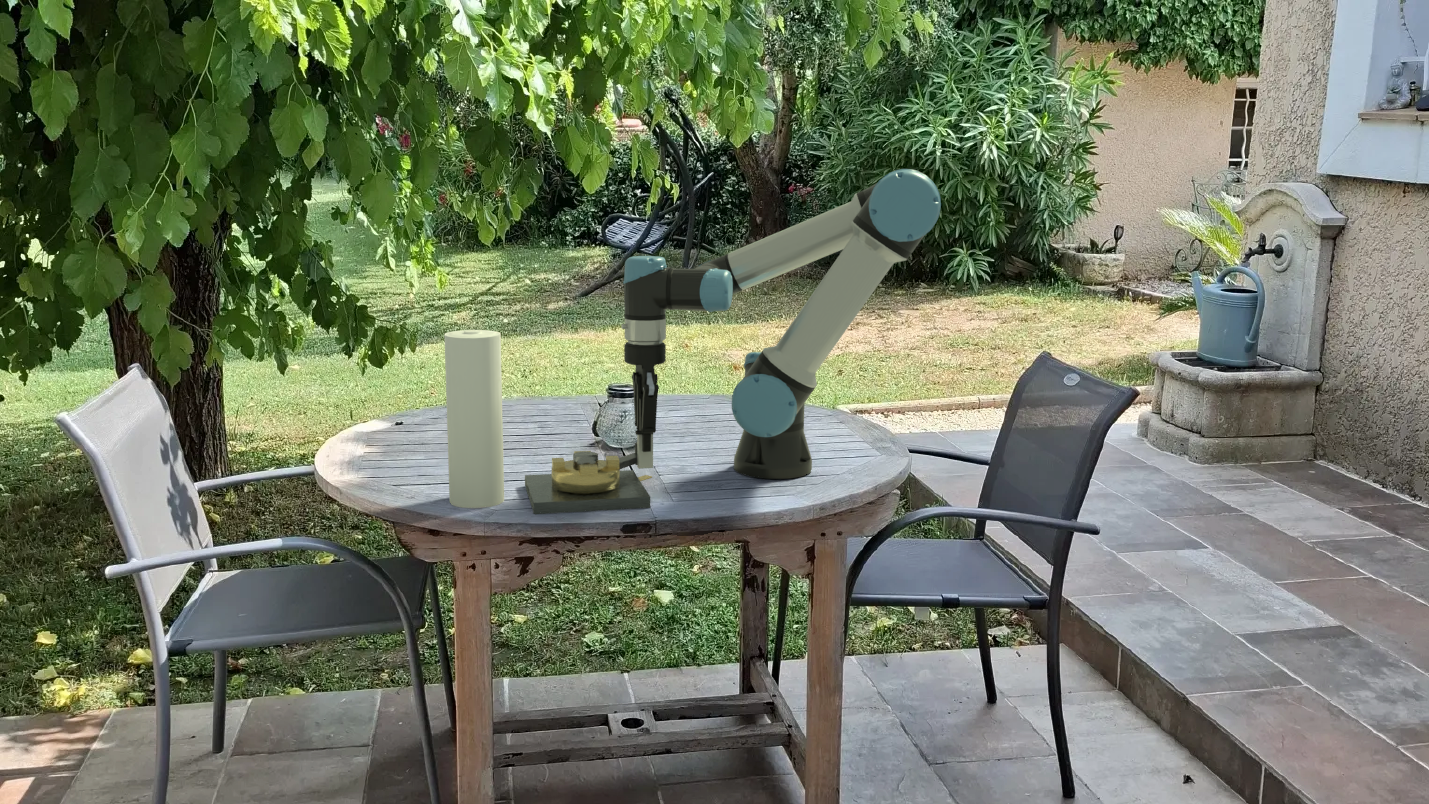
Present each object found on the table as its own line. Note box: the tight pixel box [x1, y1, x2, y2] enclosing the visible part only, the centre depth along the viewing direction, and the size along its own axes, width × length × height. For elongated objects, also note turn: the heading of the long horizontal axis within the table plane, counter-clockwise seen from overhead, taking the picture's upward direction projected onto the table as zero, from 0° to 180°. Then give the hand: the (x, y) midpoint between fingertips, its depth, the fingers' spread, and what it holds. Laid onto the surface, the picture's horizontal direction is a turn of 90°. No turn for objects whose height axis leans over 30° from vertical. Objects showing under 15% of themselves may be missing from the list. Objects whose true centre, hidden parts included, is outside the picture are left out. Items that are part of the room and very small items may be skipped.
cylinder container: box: [444, 329, 505, 509], centre depth 211 cm, size 9×9×30 cm
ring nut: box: [551, 441, 637, 493], centre depth 221 cm, size 24×12×5 cm, turn 147°
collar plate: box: [524, 469, 653, 515], centre depth 219 cm, size 24×21×2 cm
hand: (645, 467), depth 227 cm, fingers closed
